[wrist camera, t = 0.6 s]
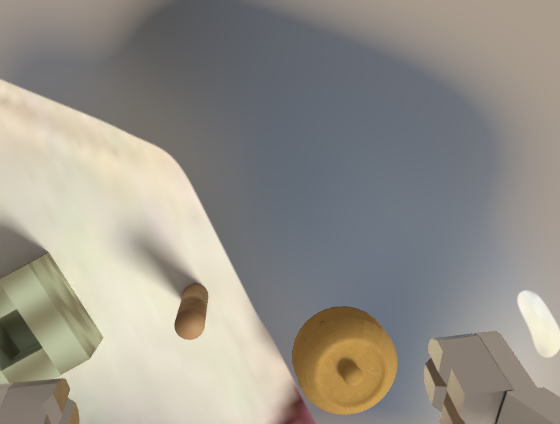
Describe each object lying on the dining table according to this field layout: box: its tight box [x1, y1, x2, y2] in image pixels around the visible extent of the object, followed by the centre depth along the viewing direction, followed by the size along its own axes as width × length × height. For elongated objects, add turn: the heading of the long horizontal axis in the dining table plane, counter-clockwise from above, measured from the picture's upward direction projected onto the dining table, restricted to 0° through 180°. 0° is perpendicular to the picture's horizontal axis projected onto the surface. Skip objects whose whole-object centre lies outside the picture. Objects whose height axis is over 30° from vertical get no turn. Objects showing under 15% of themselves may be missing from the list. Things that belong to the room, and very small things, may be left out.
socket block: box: [0, 252, 103, 384], centre depth 55 cm, size 12×12×6 cm
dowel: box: [175, 284, 208, 340], centre depth 55 cm, size 3×3×10 cm
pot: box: [292, 306, 397, 415], centre depth 58 cm, size 12×12×10 cm
